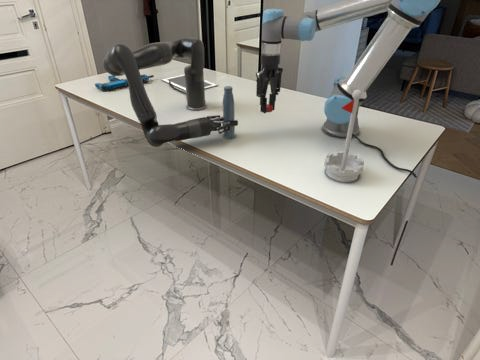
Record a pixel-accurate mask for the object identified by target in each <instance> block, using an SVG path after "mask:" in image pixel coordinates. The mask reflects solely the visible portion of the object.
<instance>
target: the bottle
mask: <svg viewBox="0 0 480 360" xmlns="http://www.w3.org/2000/svg"><path fill="white" fill-rule="evenodd" d="M222 116H223V121H224V122H229V121H234V120H236V119H235V96H234V93H233V86H230V85H225V86H224V87H223V97H222ZM224 125H226V124H224ZM235 128H236V126H233V127H231V130H229V131H226V132H224V133H223V137H224V139H234V138H235V136H236V129H235ZM226 129H227V128H226Z"/></svg>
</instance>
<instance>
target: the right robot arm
mask: <svg viewBox="0 0 480 360" xmlns="http://www.w3.org/2000/svg"><path fill="white" fill-rule="evenodd" d="M440 2H441V0H343V1H339V2H336V3H333V4H330V5H327V6H324V7H320V8H318V9H314V10H311V11H306V12H303V13H302V14H300V15H299V16H286V15H285V14H284V10H283V9H279V8H267V9H265V10H264V11H263V14H262V22H261V47H260V49H261V51H260V53H261V54H260V64H261V69H260V71H259V72H255V76H256V77H255V78H256V90H255V91H256V92H255V94H256V95H255V96H256V97H258V98H259V105H260V109H259V110H260V113H263V114H267V112H266V107H267V104H269V105H272V106H273V111H275V109H276V101H277V96H278V95H279V93H280V92H281V88H282V87H281V86H282V85H281V84H282V74H283V72H284V68H283V67H280V66H279V65H280V64H281V53H282V40H294V41H301V42H305V41H307V42H311V41H313V39H314V37H315V34H316V32H320V31H322V30H326V29H330V28H333V27H337V26H340V25H343V24H347V23H351V22H355V21H357V20H361V19H364V18H365V19H366V18H368V17H372V16H375V15H378V14H382V13H385V12H387V17H386V18H385V19H384V21H383V22H382V24H381V25H380V27H379V29H378V30H377V32H376V33H375V35H374V36H373V37H372V39H371V40H370V42H369V44H368V45H367V46H366V48H365V49H364V51H363V52H362V54H361V55H360V57H359V58H358V60H357V61H356V63H355V64H354V66H353V68H352V69H351V71H350V72H349V73H348V75H347V76H339V77H336V78H334V82H333V86H332V87H333V88H332V91H331V93H330V94H329V96H328V98H327V99H326V100H325V102H324V106H323V112H324V115H325V117H326V120H325V121H324V123H323V126H322V130H323V132H324V133H325V134H326V135H329V136H332V137H335V138H339V139H341V138H342V139H346V138H347V133H348V127H349V122H350V117H351V113H350V112H348V111H346V110H343V109H341V108H342V107H344V106H345V105H347V104H348V103H350V102H351V101H353V100H354V98H353V97H352V94H353V92H354V91H355V90H360V91H361V92H362V97H361V98H360V99H359V101H358V107H357V112H356V117H355V122H354V127H353V132H352V137H351V138H354V139H356V140H357V141H358V142H359V143H360V144H362V145H364V146H366V147H370V148H373V149H376V150H378V151H379V152H380V153H381V157H382V158H383V159H384V161H385V162H386V163H387V164H388V165H389V166H390V167H392V168H394V169H396V170H398V171H402V172H407V173H410V174H411V175H412V176H413V177H414V178H415V179H417V178H418V176H417V174H416V173H415V172H414V171H412V170H411V169H408V168H403V167H399V166H396V165H395V164H393V163H392V162H390V160H389V159H388V158H387V157H386V155H385V153H384V151H383V149H382V148H380V147H378V146H376V145H373V144H370V143H366V142H364V141H362V139H360V138H359V137H358V136H357V135H359V132H360V125H359V118H358V117H359V116H358V114H359V111H360V110H359V109H360V107H361V106H362V104H363V103H364V102H365V100H366V99H367V97H368V95H367V91H368V89H369V88H370V86H371V85H372V84H373V82H374V81H375V80H376V78H377V77H378V76H379V74H380V73H381V71H382V70H383V69H384V67H385V66H386V64H387V63H388V62H389V60H390V59H391V58H392V56H393V55H394V53H396V51H397V50H398V48H399V47H400V45H401V44H402V42H403V41H404V40H405V38H406V37H407V36H408V34H409V33H410V31H411V30H412V29H415V28H419V27H420V26H421V25H422V23H423V22H424V21H425V19H426V18H427V17H428V15H429V14H430V13H431V12H432V11H433V10H434V9H436V8H437V6H438V5H439V3H440ZM269 84H270V85H269ZM269 86H270V93H269V96H268V97H269V98H267V93H268V87H269ZM268 99H269V100H268ZM267 102H268V103H267ZM408 224H409V220H405V222H404V226H403V228H402V231H401V234H400V236H399V239H398V241H397V245H396V247H395V250H394V253H393V255H392V258H391V262H390V266H393V265H394V261H395V260H396V257H397V253H398V251H399V248H400V245H401V242H402V239H403V237H404V235H405V232H406V229H407V226H408Z"/></svg>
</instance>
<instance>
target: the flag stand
mask: <svg viewBox="0 0 480 360" xmlns="http://www.w3.org/2000/svg"><path fill="white" fill-rule="evenodd" d="M352 97H353V98H354V100H353V101H351V102H350V103H348V104H347V105H345V106H344V107H342V108H341V109H343V110H346V111H348V112H350V113H351V117H350V122H349V127H348V133H347V138H345V144H344V149H343V150H340V151H338V150H337V151H336V153H335V154H334V153H333V152H329V153H327V154H326V158H325V159H324V162H323V163H324V168H325V169H326V170H325V173H326V175H327V176H328V178H330V179H332V180H334V181H337V182H341V183H350V182H354V181H356V180H357V179H358V178H359V175H360V174H361V173H362V172H363V171H364V166H365V161H364V159H363V158H358V155H357V154H356V153H352V152H350V154H349V151H350V147H351V142H352V138H353V137H352V132H353V127H354V122H355V117H356V112H357V107H358V101H359V99H360V98H361V97H362V92H361V91H360V90H355V91H354V92H353V94H352Z"/></svg>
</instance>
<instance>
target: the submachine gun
mask: <svg viewBox="0 0 480 360" xmlns="http://www.w3.org/2000/svg"><path fill="white" fill-rule="evenodd" d="M140 75H141V78H142V81H143V83H145V82H146V83H147V81H148V80H150V79H151V78H154V77H155V76H154V74H151V75H147V74H140ZM107 77H108V80H109V82H103V83H100V82H96V83H94V86H95V88H97V89H98V90H100V91H107V90H113V91H114V90H115V89H116V88H120V87H125V86H129V85H128V81H127V78H121V79H120V78H118V77H117V76H113V75H108V76H107Z"/></svg>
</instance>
